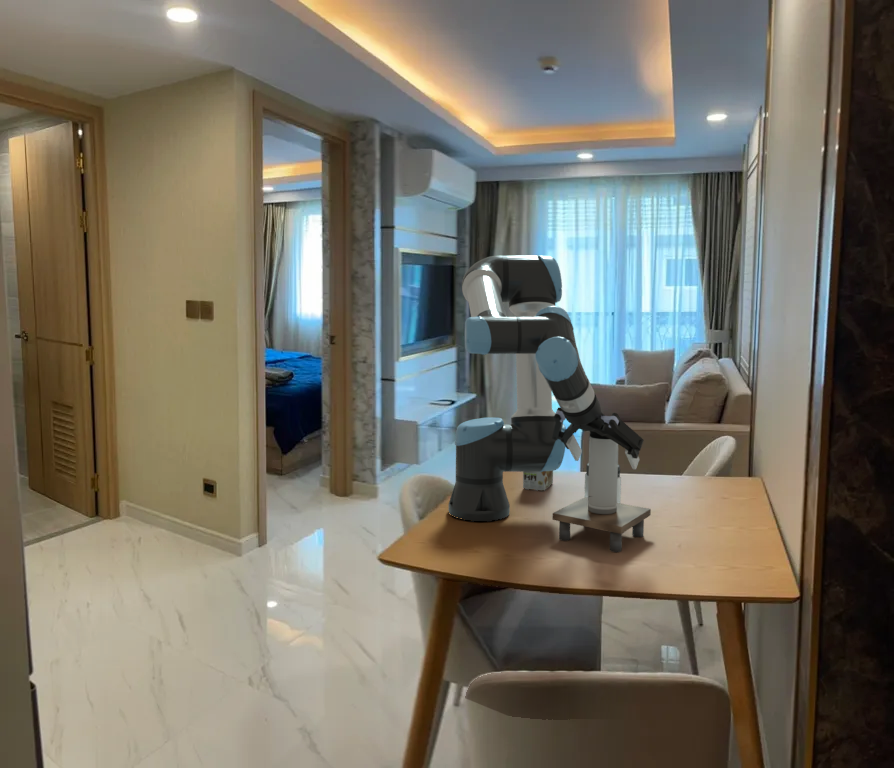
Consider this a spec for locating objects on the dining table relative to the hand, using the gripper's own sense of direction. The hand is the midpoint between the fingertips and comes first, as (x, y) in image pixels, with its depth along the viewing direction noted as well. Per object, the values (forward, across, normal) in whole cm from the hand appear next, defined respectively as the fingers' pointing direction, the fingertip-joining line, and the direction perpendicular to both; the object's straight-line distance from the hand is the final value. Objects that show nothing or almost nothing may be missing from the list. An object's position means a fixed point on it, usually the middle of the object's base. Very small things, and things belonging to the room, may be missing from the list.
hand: (606, 460), depth 159 cm
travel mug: (+7, 0, -9) cm, 12 cm away
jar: (+24, -8, -1) cm, 25 cm away
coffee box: (+32, -33, +8) cm, 47 cm away
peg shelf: (+11, 0, -13) cm, 17 cm away
